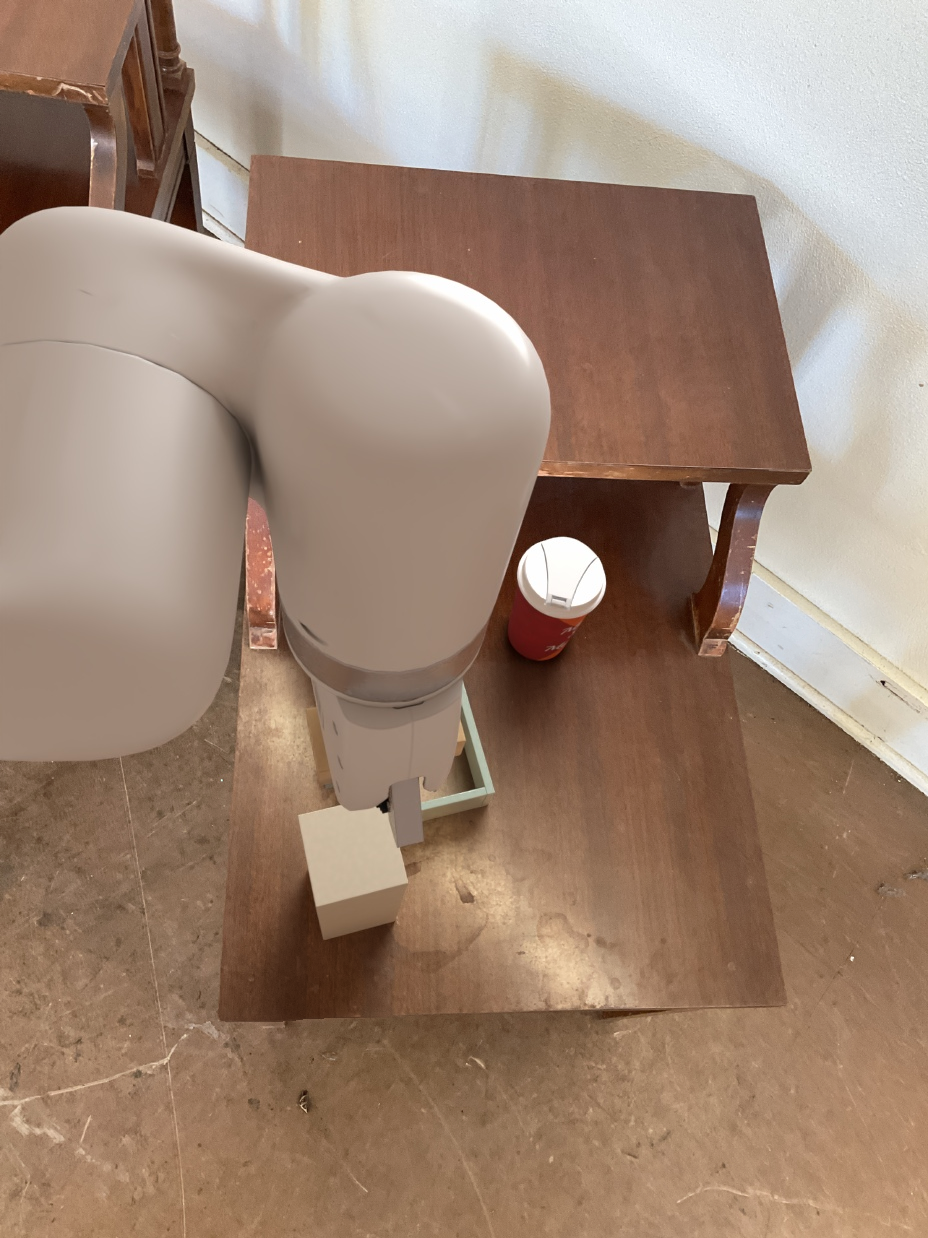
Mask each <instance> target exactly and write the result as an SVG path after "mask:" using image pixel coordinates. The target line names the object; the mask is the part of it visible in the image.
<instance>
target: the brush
mask: <svg viewBox="0 0 928 1238" xmlns="http://www.w3.org/2000/svg"><path fill="white" fill-rule="evenodd" d="M305 715H306V725H307V730H308V735H309V740H310V745H311V750H312V755H313V760H314V761H313V762H314V765H315V771H316V775H317V780H318V781H317V782H318V785H319V786H323V789H325V790H327V789H331V788H334V786H333V782H332V777H331V773H330V768H329V764H328V759H327V754H326V750H325V745H324V740H323V735H322V731H321V726H320V721H319V716H318V711H317V706H314V707H308V708H306V709H305ZM465 742H466V739H465V735H464V731H463V728H462V724H461V720H460V725H459V733H458V740H457V746H456V751H455V755H454V757H457V756H461V755H462V753H463V749H464V745H465Z"/></svg>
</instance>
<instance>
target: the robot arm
mask: <svg viewBox="0 0 928 1238" xmlns="http://www.w3.org/2000/svg"><path fill="white" fill-rule="evenodd" d="M551 422H552V406H551V391H550V387H549V383H548V379H547V376H546V372H545V368H544V365H543V362H542V360H541V358H540V355H539V354H538V351H537V350H536V348H535V346H534V344H533V342H532V341H531V339H530V338H529V337H528V336H527V334H526V333H525V332H524V330H523V329H522V328H521V326H520V325H519V324H518V322H517V321H516V320H515V318H513V317H512V316H511V315H510V314H509V313H508V312H507V311H505V310H504V309H503V308H502V307H501V306H499V305H498V304H497V302H495V301H493V300H492V299H490V298H489V297H487V296H486V295H484V294H482V293H481V292H479V291H478V290H475V289H473V288H471V287H470V286H467V285H465V284H463V283H460V282H459V281H455V280H451V279H449V278H446V277H442V276H439V275H436V274H429V273H424V272H418V271H409V270H408V271H407V270H406V271H405V270H385V271H384V270H383V271H374V272H373V271H372V272H366V273H361V274H356V275H352V276H346V277H342V276H338V275H334V274H330V273H327V272H324V271H320V270H317V269H313V268H309V267H306V266H303V265H299V264H295V263H292V262H289V261H285V260H281V259H279V258H275V257H273V256H269V255H266V254H263V253H260V252H257V251H254V250H251V249H248V248H245V247H242V246H239V245H236V244H233V243H230V242H228V241H224V240H220V239H218V238H215V237H212V236H209V235H206V234H203V233H200V232H197V231H194V230H191V229H188V228H186V227H182V226H179V225H177V224H172V223H169V222H166V221H163V220H160V219H155V218H151V217H147V216H143V215H139V214H136V213H131V212H127V211H123V210H117V209H111V208H105V207H98V206H57V207H52V208H46V209H42V210H39V211H36V212H33V213H30V214H28V215H26V216H23V217H22V218H20V219H19V220H16V221H15V222H13V223H12V224H11V225H10V226H8V228H6V229H4V231H3V232H2V233H1V234H0V761H7V762H9V761H10V762H33V763H34V762H41V763H42V762H92V761H100V760H101V761H102V760H108V759H116V758H121V757H124V756H129V755H130V756H131V755H134V754H138V753H144V752H146V751H149V750H152V749H155V748H157V747H160V746H163V745H165V744H167V743H168V742H170V741H172V740H174V739H175V738H177V737H179V736H180V735H182V734H183V733H184V732H186V731H188V730H189V729H190V728H191V727H192V726H193V725H194V724H195V723H197V722H198V721H199V720H200V719H201V718H202V717H203V716H204V714H205V712H207V710H208V709H209V708H210V706H211V705H212V703H213V702H214V699H215V697H216V696H217V694H218V691H219V689H220V687H221V685H222V682H223V679H224V677H225V674H226V671H227V668H228V665H229V662H230V658H231V652H232V645H233V640H234V635H235V634H234V633H235V627H236V619H237V612H238V611H237V610H238V603H239V602H238V601H239V594H240V593H239V591H240V583H241V574H242V565H243V564H242V563H243V554H244V546H245V545H244V544H245V536H246V525H247V517H248V508H249V498H250V499H252V500H254V501H255V502H256V503H257V504H258V505H259V506H260V507H261V508H262V510H263V511H264V513H265V516H266V518H267V524H268V531H269V536H270V542H271V551H272V554H273V555H272V557H273V563H274V570H275V577H276V585H277V592H278V599H279V604H280V612H281V619H282V625H283V632H284V635H285V638H286V642H287V645H288V647H289V650H290V651H291V653H292V656H293V658H294V659H295V661H296V662H297V664H298V666H300V668H301V669H302V670H303V672H304V673H305V674H306V675H307V676H308V677H309V678H310V680H311V686H312V691H313V695H314V696H313V697H314V701H315V707H317V711H318V716H319V721H320V726H321V731H322V735H323V740H324V745H325V750H326V754H327V759H328V764H329V768H330V773H331V777H332V782H333V786H334V787H333V789H334V793H335V796H336V799H337V803H339V805H342V806H343V807H344V808H345V809H347V810H349V811H358V810H365V809H370V808H373V807H375V806H376V808H380V811H381V812H382V814H384V813H388V817H389V823H390V826H391V830H392V833H393V837H394V840H395V843H396V847H397V848H400V849H401V848H404V847H408V846H413V845H416V844H420V843H424V842H425V840H424V839H425V835H424V821H422V810H421V802H422V799H421V798H422V797H421V785H420V778H422V777H423V780H422V788H423V790H426V791H428V792H433V793H437V792H438V791H439V790H440V789H441V788H442V787H443V786H444V784H445V782H446V781H447V779H448V777H449V774H450V773H451V770H452V767H453V763H454V760H455V756H454V755H455V751H456V746H457V740H458V733H459V725H460V715H461V706H462V681H463V682H464V680H463V678H464V677H463V676H464V675H465V674H466V673H467V672H468V670H469V669H471V667H472V665H473V663H474V662H475V660H476V658H477V657H478V655H479V653H480V650H481V647H482V645H483V642H484V639H485V637H486V632H487V629H488V626H489V624H490V621H491V617H492V614H493V611H494V608H495V605H496V603H497V600H498V598H499V594H500V591H501V588H502V585H503V582H504V579H505V575H506V572H507V569H508V567H509V564H510V560H511V557H512V554H513V552H514V548H515V545H516V543H517V539H518V536H519V534H520V530H521V527H522V524H523V522H524V521H523V520H524V517H525V515H526V511H527V509H528V506H529V502H530V500H531V496H532V494H533V491H534V487H535V485H536V481H537V478H538V475H539V472H540V469H541V466H542V464H543V463H542V462H543V460H544V456H545V452H546V448H547V444H548V440H549V435H550V431H551Z"/></svg>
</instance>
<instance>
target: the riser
mask: <svg viewBox="0 0 928 1238" xmlns="http://www.w3.org/2000/svg"><path fill="white" fill-rule="evenodd" d="M297 821H298V826H299V830H300V834H301V835H300V836H301V840H302V846H303V852H304V855H305V859H306V860H305V861H306V867H307V871H308V876H309V882H310V886H311V890H312V895H313V902H314V907H315V910H316V915H317V918H318V924H319V928H320V931H321V936H322V940H323V941H327V940H330V939H334V938H337V937H341V936H346V935H348V934H353V933H356V932H361V931H363V930H368V929H371V928H375V927H379V926H382V925H386V924H389V923H393V922H396V920H397V917H398V914H399V911H400V908H401V905H402V902H403V900H404V896H405V895H406V890H407V888H408V885H409V880H408V875H407V871H406V867H405V863H404V858H403V855H402V851H401V847H400V848H397V847H396V843H395V840H394V837H393V833H392V830H391V826H390V823H389V817H388V813H384V814H382V812H381V811H380V808H376V806H375V807H373V808H370V809H365V810H358V811H349V810H347V809H345V808H344V807H343V806H342V805H341V804H339V805H335V806H331V807H327V808H322V809H318V810H315V811H310V812H306V813H301V814H298V815H297Z"/></svg>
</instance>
